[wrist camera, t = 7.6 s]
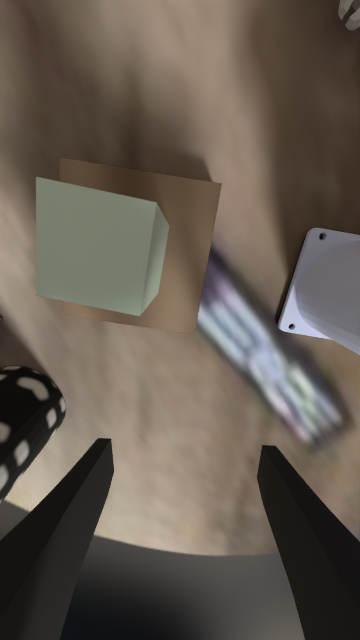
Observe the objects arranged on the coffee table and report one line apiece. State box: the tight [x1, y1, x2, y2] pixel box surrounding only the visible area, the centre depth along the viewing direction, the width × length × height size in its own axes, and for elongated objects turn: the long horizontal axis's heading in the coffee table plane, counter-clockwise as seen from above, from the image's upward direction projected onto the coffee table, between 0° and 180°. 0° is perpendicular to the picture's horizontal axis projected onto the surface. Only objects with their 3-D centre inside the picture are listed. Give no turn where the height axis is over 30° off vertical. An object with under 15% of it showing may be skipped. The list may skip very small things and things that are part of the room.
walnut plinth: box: [59, 157, 222, 335], centre depth 16 cm, size 10×10×3 cm
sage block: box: [36, 177, 169, 316], centre depth 11 cm, size 4×4×6 cm
